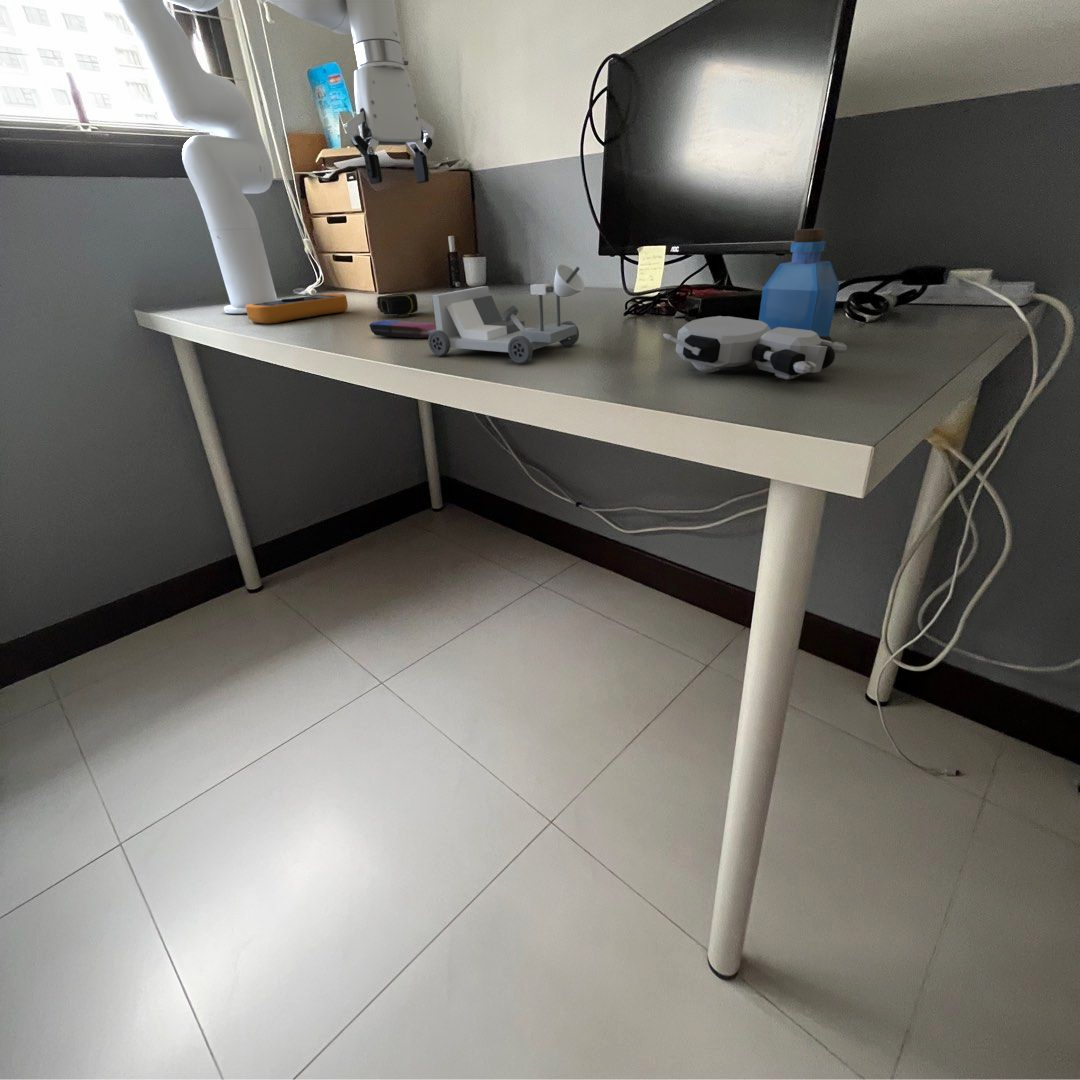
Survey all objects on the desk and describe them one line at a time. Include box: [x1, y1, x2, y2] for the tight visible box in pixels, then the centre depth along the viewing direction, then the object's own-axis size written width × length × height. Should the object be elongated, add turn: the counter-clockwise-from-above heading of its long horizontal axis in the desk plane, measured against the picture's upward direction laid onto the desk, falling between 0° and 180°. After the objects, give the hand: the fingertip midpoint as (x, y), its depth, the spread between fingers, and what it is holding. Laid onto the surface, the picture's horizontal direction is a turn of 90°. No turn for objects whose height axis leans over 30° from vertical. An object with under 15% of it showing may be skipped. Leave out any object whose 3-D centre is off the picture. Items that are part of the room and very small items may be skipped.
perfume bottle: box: [758, 228, 840, 336], centre depth 66 cm, size 6×6×12 cm
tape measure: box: [376, 292, 419, 318], centre depth 105 cm, size 7×7×4 cm
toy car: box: [427, 263, 585, 365], centre depth 70 cm, size 18×10×12 cm
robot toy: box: [662, 315, 848, 381], centre depth 56 cm, size 12×4×15 cm
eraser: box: [368, 320, 437, 339], centre depth 86 cm, size 11×4×2 cm, turn 67°
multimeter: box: [245, 292, 349, 325], centre depth 111 cm, size 9×18×3 cm, turn 141°
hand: (400, 182), depth 102 cm, fingers open, 9 cm apart
